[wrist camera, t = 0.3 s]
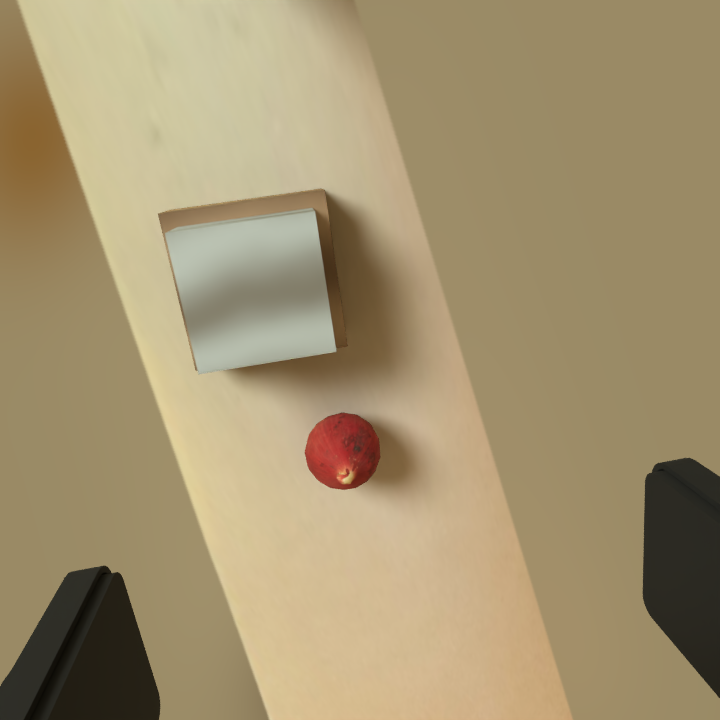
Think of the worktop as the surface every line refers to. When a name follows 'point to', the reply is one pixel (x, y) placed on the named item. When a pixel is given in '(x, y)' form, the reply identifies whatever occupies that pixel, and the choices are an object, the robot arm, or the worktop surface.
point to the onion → (342, 451)
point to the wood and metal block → (256, 279)
